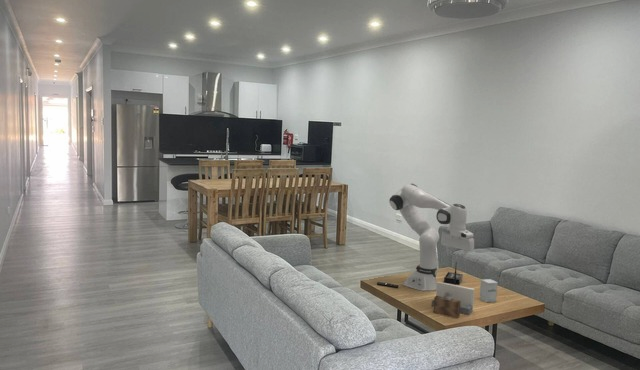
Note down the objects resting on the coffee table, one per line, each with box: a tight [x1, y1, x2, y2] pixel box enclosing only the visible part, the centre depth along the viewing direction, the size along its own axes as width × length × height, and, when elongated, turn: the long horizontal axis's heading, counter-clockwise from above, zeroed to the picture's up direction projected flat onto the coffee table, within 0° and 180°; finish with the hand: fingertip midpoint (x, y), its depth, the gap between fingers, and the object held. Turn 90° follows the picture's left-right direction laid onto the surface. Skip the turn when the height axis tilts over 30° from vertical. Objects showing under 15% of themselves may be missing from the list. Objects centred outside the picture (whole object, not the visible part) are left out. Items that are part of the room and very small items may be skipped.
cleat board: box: [431, 281, 476, 316], centre depth 275 cm, size 22×9×13 cm, turn 58°
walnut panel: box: [433, 291, 461, 319], centre depth 265 cm, size 14×4×13 cm, turn 58°
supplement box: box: [479, 278, 499, 303], centre depth 291 cm, size 7×7×13 cm
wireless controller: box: [443, 261, 464, 286], centre depth 328 cm, size 20×14×17 cm
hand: (456, 255), depth 270 cm, fingers open, 8 cm apart
